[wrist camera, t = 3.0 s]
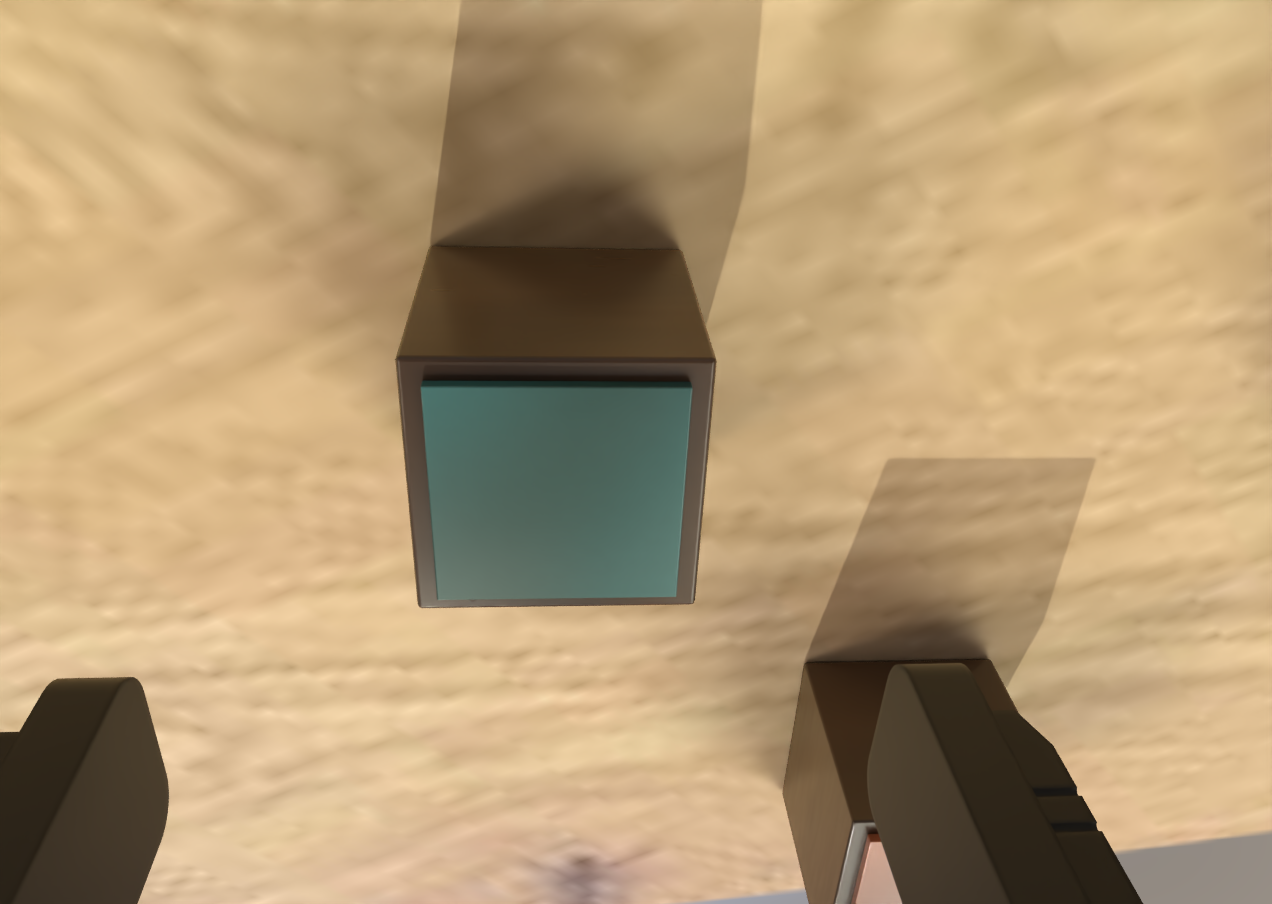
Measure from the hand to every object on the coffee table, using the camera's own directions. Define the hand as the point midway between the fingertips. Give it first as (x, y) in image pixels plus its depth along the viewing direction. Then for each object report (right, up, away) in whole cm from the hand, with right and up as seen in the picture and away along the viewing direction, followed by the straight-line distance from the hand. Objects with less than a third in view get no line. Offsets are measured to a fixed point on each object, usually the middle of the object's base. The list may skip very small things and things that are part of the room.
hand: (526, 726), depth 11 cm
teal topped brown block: (0, +5, +8) cm, 9 cm away
